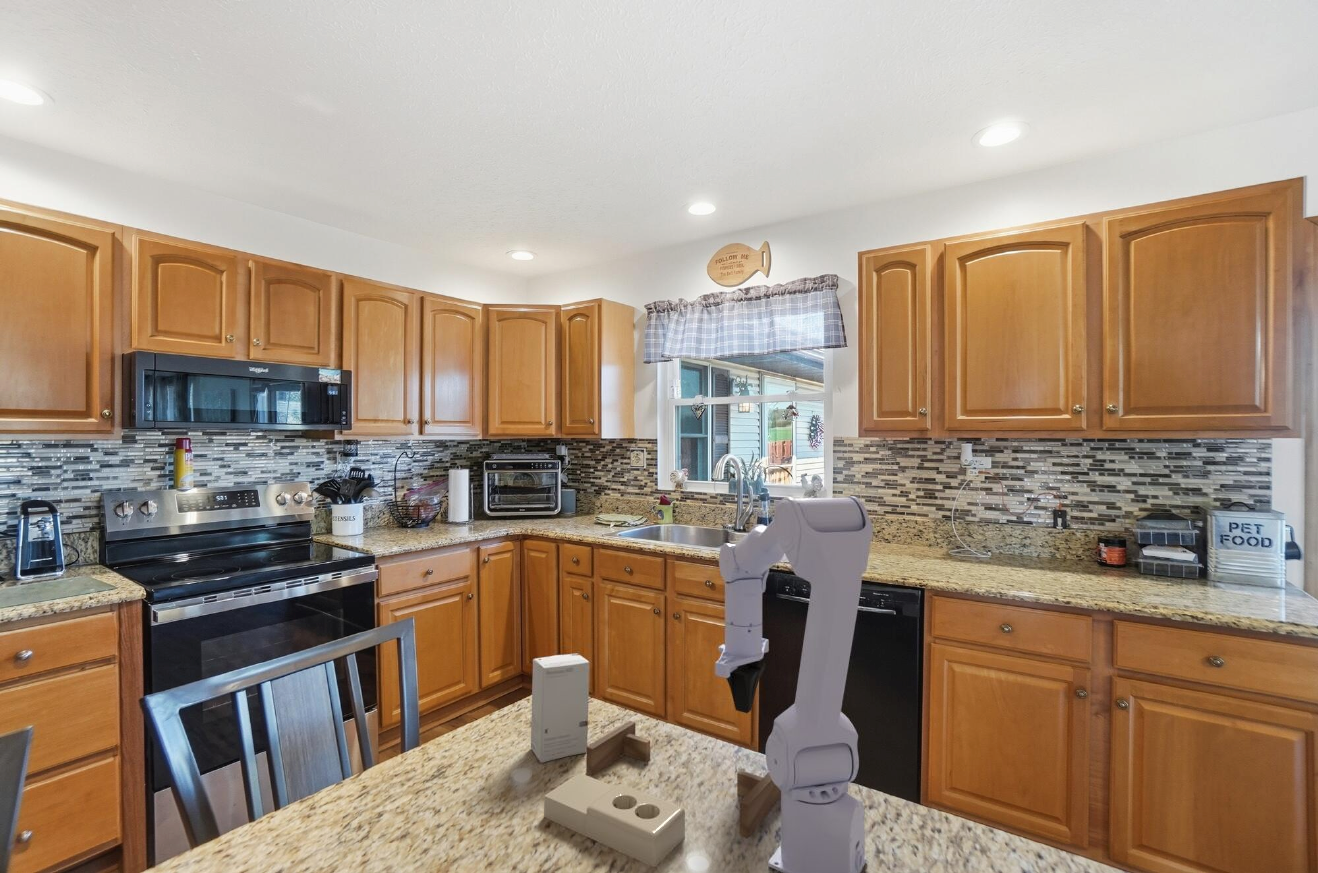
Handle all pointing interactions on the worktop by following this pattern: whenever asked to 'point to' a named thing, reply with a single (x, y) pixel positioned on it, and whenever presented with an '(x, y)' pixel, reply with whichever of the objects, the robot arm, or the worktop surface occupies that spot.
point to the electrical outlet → (618, 817)
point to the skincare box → (559, 706)
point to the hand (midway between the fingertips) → (743, 710)
